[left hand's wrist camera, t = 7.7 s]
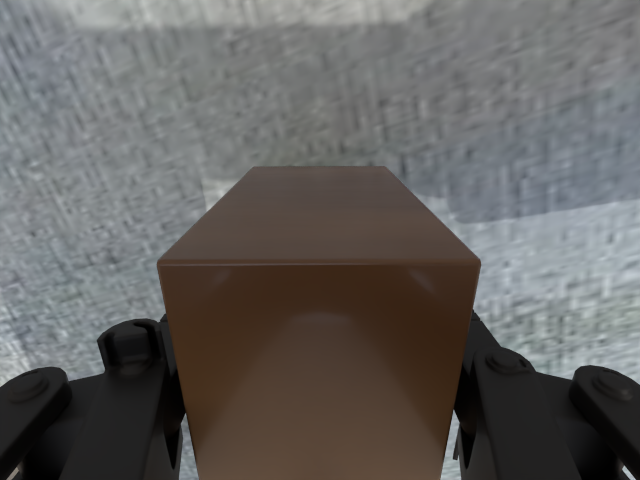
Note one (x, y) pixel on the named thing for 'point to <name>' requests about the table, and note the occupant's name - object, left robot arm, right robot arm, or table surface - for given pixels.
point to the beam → (319, 327)
